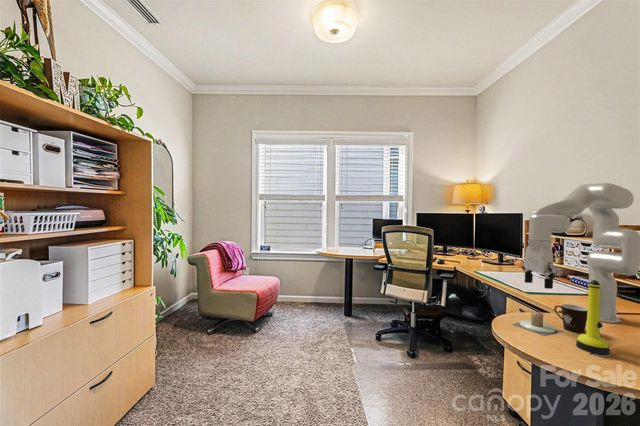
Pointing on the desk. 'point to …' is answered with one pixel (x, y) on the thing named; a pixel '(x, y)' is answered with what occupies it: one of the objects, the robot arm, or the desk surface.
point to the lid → (537, 324)
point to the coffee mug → (573, 317)
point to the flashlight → (593, 325)
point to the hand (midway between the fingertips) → (538, 285)
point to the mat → (538, 332)
